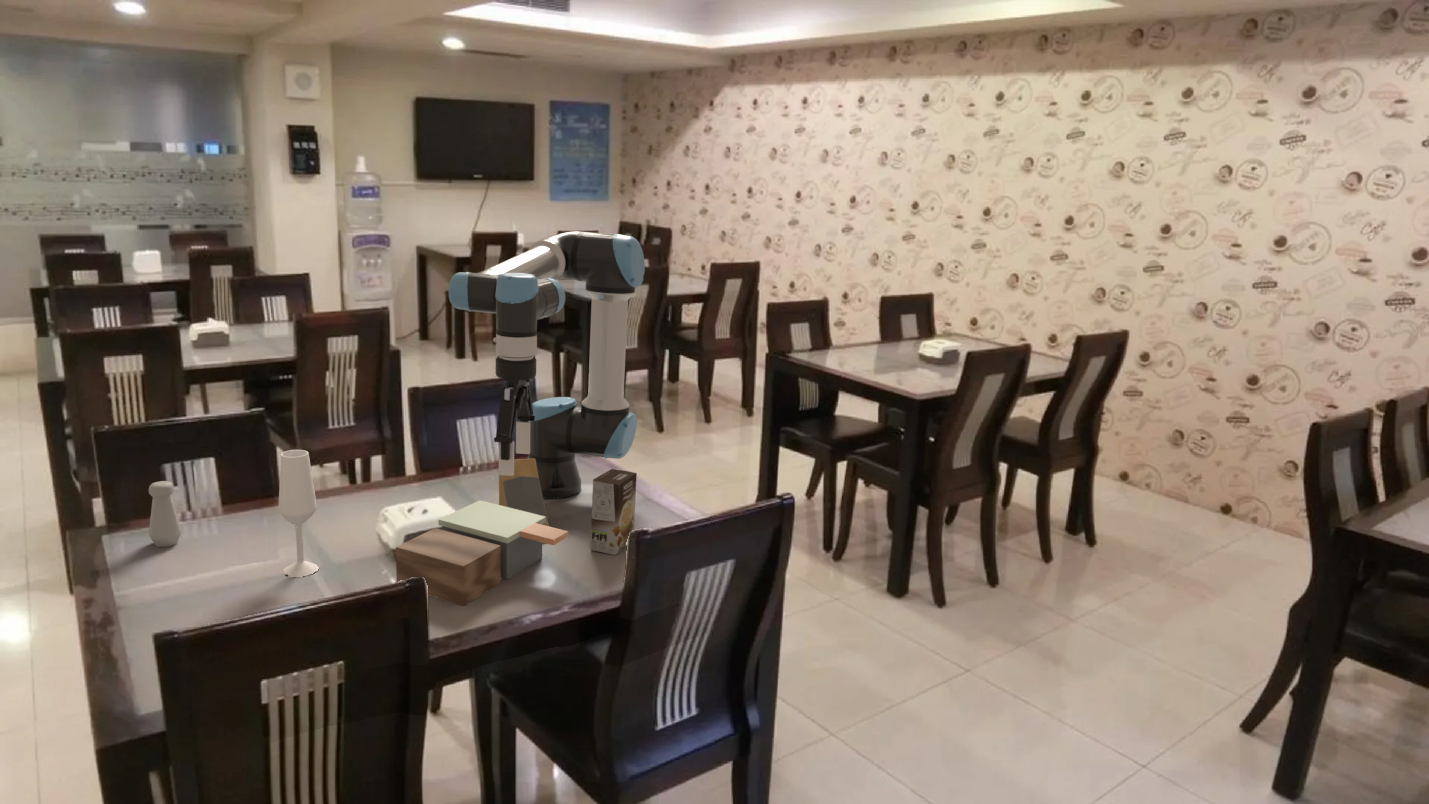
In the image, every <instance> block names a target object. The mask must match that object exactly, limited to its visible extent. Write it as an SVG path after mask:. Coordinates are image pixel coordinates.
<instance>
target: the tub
mask: <svg viewBox="0 0 1429 804" xmlns="http://www.w3.org/2000/svg"><path fill="white" fill-rule="evenodd" d="M542 525H543V524H542ZM441 528H442V529H441V530H445V531H448V532H452V533H456V534H460V535H463V536H467V537H471V538H474V539H478V540H482V541H486V542H489V543H493V544H497V545H500V546H501V579H504V580H509V579H510V578H512V577H514V576H515V575H516V574H519V573H520V572H522V571H523V570H525V569H527V568H528V567H530V566H531V565H533V564H534V563H536V562H538V561H539V560H542V559H543V545H542V542H538V541H535V540H531V539H527V538H523V537H518V538H517V539H515V540H513V541H511V542H509V543H504V542H500V541H496V540H493V539H489V538H485V537H481V536H478V535H474V534H470V533H466V532H463V531H459V530H455V529H451V528H448V527H444V526H441Z"/></svg>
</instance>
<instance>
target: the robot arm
mask: <svg viewBox="0 0 1429 804" xmlns="http://www.w3.org/2000/svg"><path fill="white" fill-rule="evenodd" d="M645 264H646V263H645V257H644V251H643V248H642V247H641V243H640V242H639V241H638V239H636V238H635V237H634V236H631V235H625V234H620V233H605V232H604V233H603V232H591V231H590V232H589V231H581V230H580V231H579V230H573V231H566V232H562V233H557V234H554V235H549V236H547V237H544V238H542V239H540V240H537V241H535V242H534V243H532V244H531V245H530V246H529V248H528V250H527V251H524V252H522V253H520V254H517V255H515V256H513V257H511V258H509V259H507V260H504V261H502V262H500V263H498V264H495V265H493V266H491V267H488V268H487V269H484V270H482V271H479V272H470V271H466V272H462V271H461V272H460V271H459V272H456V273H454V274H453V275H452V277H451V278H450V281H449V284H448V289H447V290H448V298H449V301H450V304H451V306H453V307H454V308H455V309H458V310H462V311H463V310H464V311H467V312H470V313H471V312H475V313H476V312H477V313H488V314H495V319H496V320H495V323H496V324H495V327H496V329H495V333H496V334H495V337H493V338H492V343H495V354H496V355H497V357H496V358H495V376H496V377H497V378H499V379H502V380H505V382H506V383H505V386H503V388H501V389H500V390H499V392H500V402H499V409H498V417H497V424H496V433H495V437H493V442H494V443H498V476H499V475H505V476H513V475H514V460H515V454H521V455H522V454H523V455H527V459H531V458H535V460H536V465H537V471H538V477H539V481H540V486H541V491H542V496H543V499H563V498H567V497H572V496H575V495H576V494H578V493H580V492H581V490H582V478H581V477H580V473H579V469H578V465H577V462H576V454H577V455H585V456H590V457H591V456H592V457H599V458H604V459H606V460H607V459H613V460H614V459H616V460H619V459H622V458H624V457H625V456H626V455H628V453H629V452H630V450H631V447H632V445H633V442H634V439H635V437H636V432H637V424H638V419H637V415H636V414H635V413H633V412H631V411H630V403H629V402H628V400H627V399H625V396H624V392H625V374H626V371H625V370H626V347H627V334H628V333H627V331H628V329H627V328H628V307H629V304H628V303H629V300H630V298H632V297H633V296H634V295H635V293H636V288H638V287H640V286H641V285H642V284H643V281H644V275H645V272H646V269H645ZM557 280H568V281H569V280H570V281H578V282H585V291H586V293H587V294H588V295H589V296H590V298H591V309H590V336H589V337H590V338H589V360H588V361H589V362H588V363H589V366H588V371H589V372H588V386H587V387H588V393H587V396H586V397H585V398H584V399H583V400H582V401H581V406H578V402H577V400H576V398H573V397H570V396H557V397H556V396H555V397H547V398H543V399H539V400H536V401H534V402H533V401H532V391H531V389H532V388H531V379H534V378H535V377H537V359H536V357H535V356H537V353H538V349H537V348H538V331H537V330H538V320H542V319H544V318H549V317H552V316H554V315H555V314H557V313H558V312H560V311H561V310H562V309H563V307H564V306H565V303H566V292H565V289H564V287H563V286H562V284H561V283H560V282H559V281H557ZM514 435H515V441H514Z"/></svg>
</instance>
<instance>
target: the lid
mask: <svg viewBox="0 0 1429 804" xmlns="http://www.w3.org/2000/svg"><path fill="white" fill-rule="evenodd" d="M545 522H546V517H545V516H541V515H537V514H533V513H529V512H525V511H521V510H517V509H513V508H509V507H505V506H501V505H499V504H497V503H493V502H490V501H484V500H481V499H479V500H477V501H476V502H472V503H471V504H469V505H467V506H464V507H462V508H460V509H458V510H456V511H453V512H451V513H449V514H447V515H445V516H443V517H441V518H439V519H438V526H441V527H442V526H444V527H448V528H451V529H455V530H459V531H463V532H466V533H470V534H474V535H478V536H481V537H485V538H489V539H493V540H496V541H500V542H504V543H509V542H511V541H513V540H515V539H517V538H518V537H523V538H527V539H531V540H535V541H538V542H542V543H546V544H545V545H550V546H555V545H558V544H559V543H560V542H562V541H564V540H565V539H568V537H569V531H568V530H565V529H561V528H557V527H552V526H550V525H549V526H545V525H542V524H544V523H545Z"/></svg>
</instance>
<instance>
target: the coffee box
mask: <svg viewBox="0 0 1429 804" xmlns="http://www.w3.org/2000/svg"><path fill="white" fill-rule="evenodd" d="M637 477H638V475H637V472H633V471H628V470H622V469H615V468H611V469H609V470H607V471H606V472H604V473H602V474H600V475H598V476H597V477H596V478H593V479H592V497H591V498H592V499H591V501H592V502H591V522H590V523H591V524H590V548H589V549H590V550H591V551H592V552H593V551H594V552H599V553H603V554H608V555H611V556H615V555H617V554H619V553H620V552H622V551H623V550H624V549H625V548H626V547H627V546H626V542H627V539H628V536H629V533H630V532H631V531H632V530H634V531H635V512H636V511H635V510H636V498H637V497H636V494H637V493H636V492H637ZM623 548H624V549H623Z"/></svg>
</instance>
